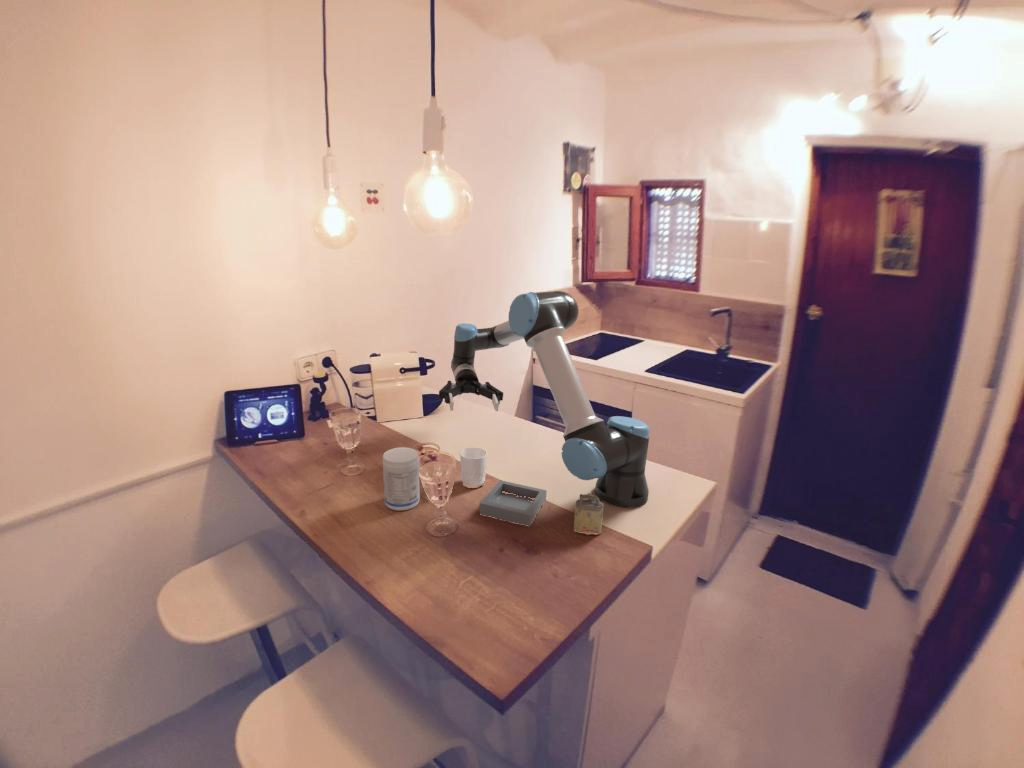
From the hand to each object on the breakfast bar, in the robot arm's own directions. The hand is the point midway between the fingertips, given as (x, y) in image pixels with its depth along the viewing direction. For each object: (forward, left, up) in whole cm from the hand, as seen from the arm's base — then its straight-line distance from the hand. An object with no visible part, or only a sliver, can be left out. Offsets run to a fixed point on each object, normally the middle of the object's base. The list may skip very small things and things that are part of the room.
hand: (474, 406), depth 147 cm
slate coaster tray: (-18, +14, -22) cm, 32 cm away
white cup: (-2, +6, -22) cm, 23 cm away
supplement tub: (+11, +24, -22) cm, 34 cm away
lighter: (-40, +17, -22) cm, 48 cm away
